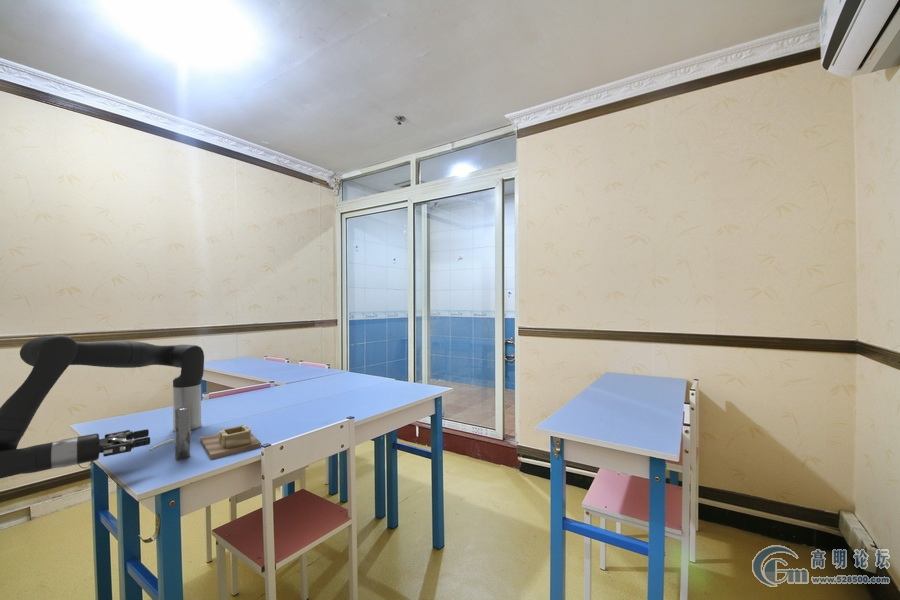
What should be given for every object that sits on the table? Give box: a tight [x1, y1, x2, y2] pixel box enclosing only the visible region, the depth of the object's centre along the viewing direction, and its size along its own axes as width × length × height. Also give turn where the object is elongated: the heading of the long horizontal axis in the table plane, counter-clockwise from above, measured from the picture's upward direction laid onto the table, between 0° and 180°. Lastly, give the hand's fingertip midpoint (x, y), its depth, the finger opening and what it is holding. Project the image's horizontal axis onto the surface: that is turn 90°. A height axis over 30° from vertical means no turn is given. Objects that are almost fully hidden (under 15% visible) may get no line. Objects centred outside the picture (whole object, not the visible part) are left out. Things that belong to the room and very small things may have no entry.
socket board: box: [199, 424, 262, 460], centre depth 133 cm, size 20×15×6 cm
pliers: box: [149, 430, 192, 451], centre depth 136 cm, size 10×2×15 cm
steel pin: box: [174, 407, 191, 461], centre depth 122 cm, size 4×4×16 cm
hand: (149, 436), depth 117 cm, fingers open, 8 cm apart
